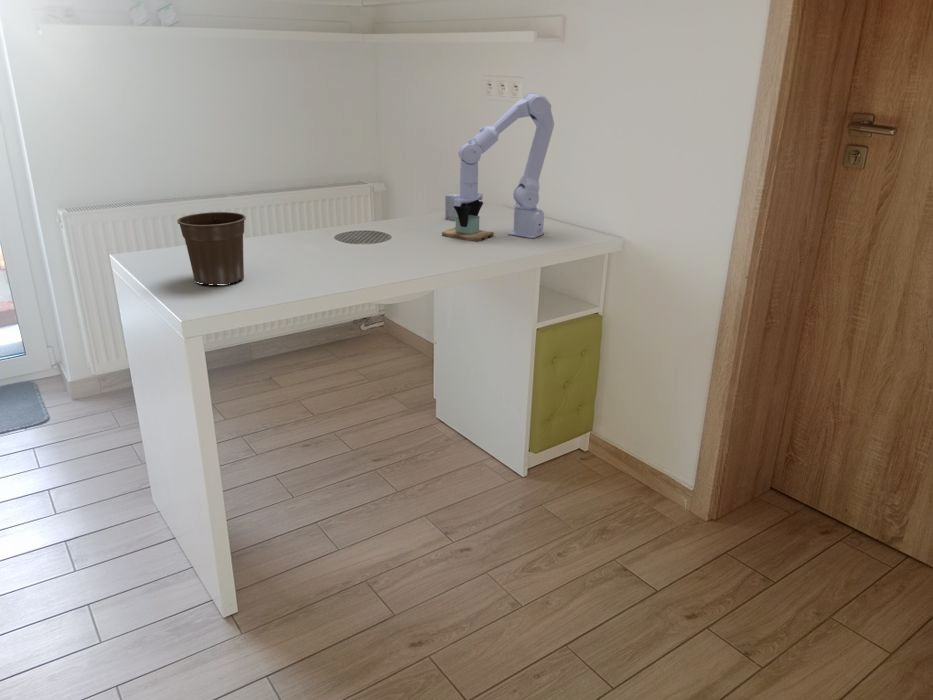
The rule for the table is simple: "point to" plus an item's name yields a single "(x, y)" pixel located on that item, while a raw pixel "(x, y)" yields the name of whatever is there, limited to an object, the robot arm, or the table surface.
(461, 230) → the pale teal rectangular block
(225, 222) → the plant pot
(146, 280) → the table surface
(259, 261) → the table surface
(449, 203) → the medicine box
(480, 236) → the thin wooden board
